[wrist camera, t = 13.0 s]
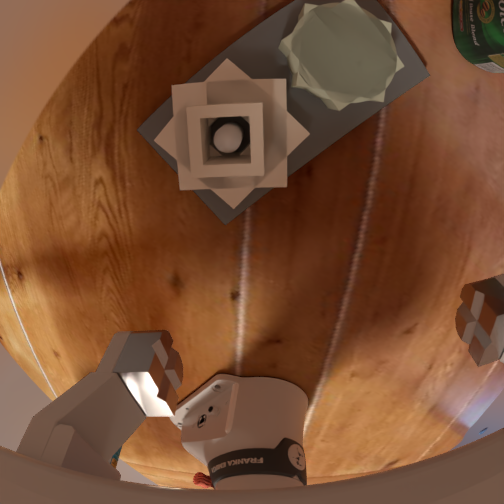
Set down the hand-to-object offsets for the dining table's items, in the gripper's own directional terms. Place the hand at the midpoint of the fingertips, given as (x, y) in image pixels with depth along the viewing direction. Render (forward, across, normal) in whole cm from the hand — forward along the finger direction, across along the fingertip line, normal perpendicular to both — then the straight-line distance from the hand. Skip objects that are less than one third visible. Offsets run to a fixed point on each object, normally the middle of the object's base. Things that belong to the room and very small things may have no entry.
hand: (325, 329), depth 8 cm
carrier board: (+23, -2, -6) cm, 23 cm away
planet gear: (+21, +4, -3) cm, 22 cm away
